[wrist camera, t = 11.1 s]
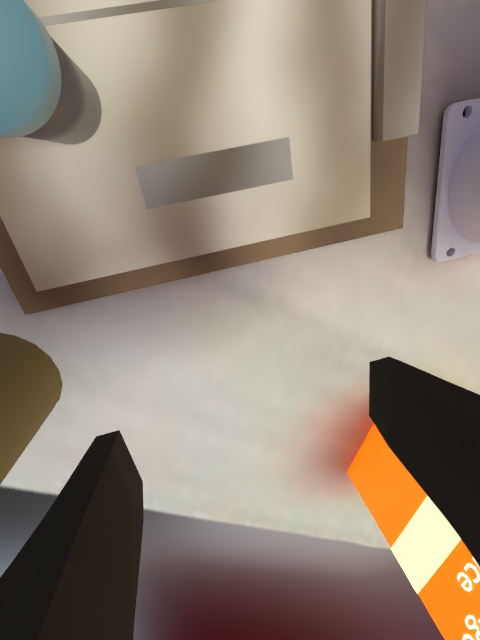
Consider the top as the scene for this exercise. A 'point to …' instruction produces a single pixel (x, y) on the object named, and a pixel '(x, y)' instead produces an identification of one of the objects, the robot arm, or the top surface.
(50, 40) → the marker
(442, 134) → the robot arm
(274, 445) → the top surface
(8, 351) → the cork
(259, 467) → the top surface
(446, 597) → the orange juice
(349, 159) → the clipboard
